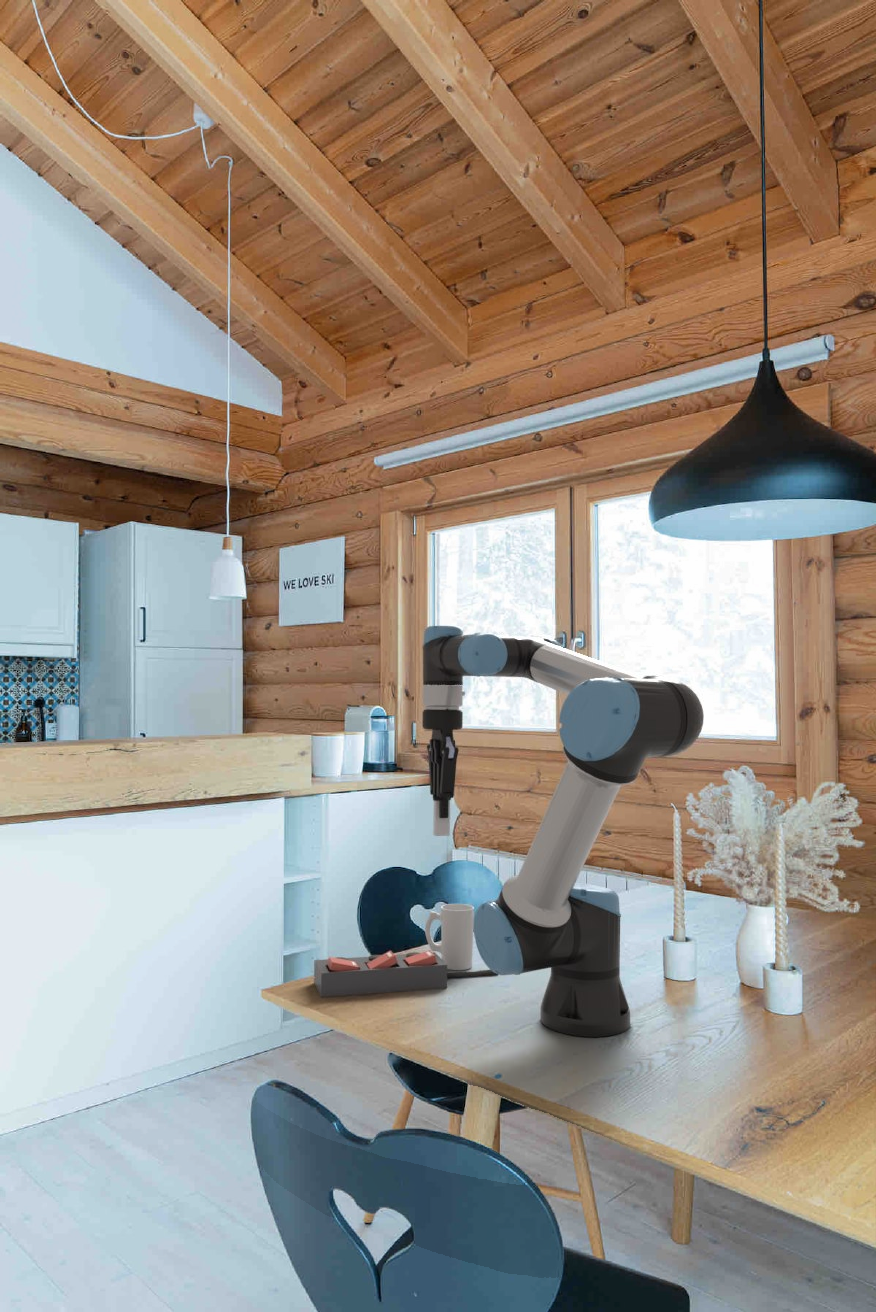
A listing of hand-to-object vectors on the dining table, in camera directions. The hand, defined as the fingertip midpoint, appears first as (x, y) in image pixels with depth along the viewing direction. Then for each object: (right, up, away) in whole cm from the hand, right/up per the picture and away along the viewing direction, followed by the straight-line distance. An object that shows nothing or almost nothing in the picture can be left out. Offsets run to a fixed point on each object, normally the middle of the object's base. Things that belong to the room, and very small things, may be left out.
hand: (441, 835), depth 177 cm
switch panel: (-6, -30, +6) cm, 31 cm away
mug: (+2, -30, +18) cm, 35 cm away
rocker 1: (-18, -25, +1) cm, 31 cm away
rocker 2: (-11, -25, +3) cm, 27 cm away
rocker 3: (-4, -25, +5) cm, 26 cm away
